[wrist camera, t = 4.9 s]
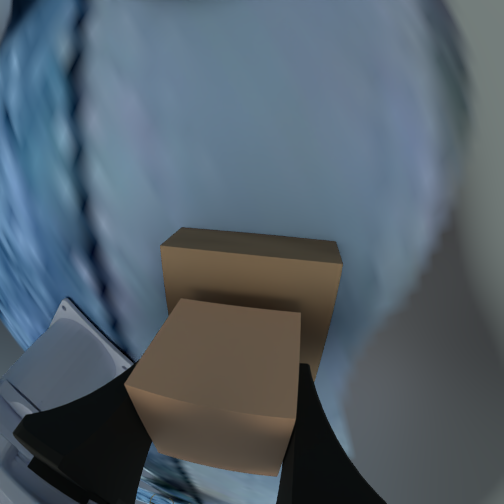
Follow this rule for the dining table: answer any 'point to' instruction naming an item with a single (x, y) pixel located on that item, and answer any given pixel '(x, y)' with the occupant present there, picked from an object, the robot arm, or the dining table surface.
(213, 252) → the walnut base
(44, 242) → the dining table surface
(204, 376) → the terracotta cube
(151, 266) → the dining table surface
